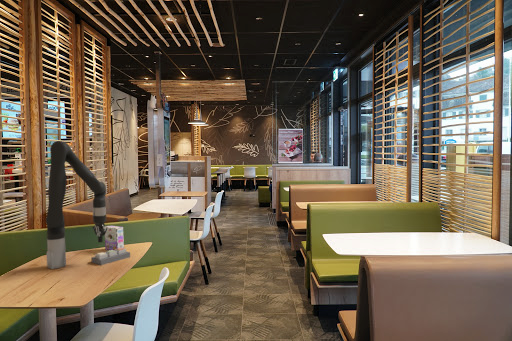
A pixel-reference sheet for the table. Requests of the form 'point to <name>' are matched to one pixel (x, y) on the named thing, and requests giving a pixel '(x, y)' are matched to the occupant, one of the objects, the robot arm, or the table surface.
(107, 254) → the button board
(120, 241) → the candy box
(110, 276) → the table surface
